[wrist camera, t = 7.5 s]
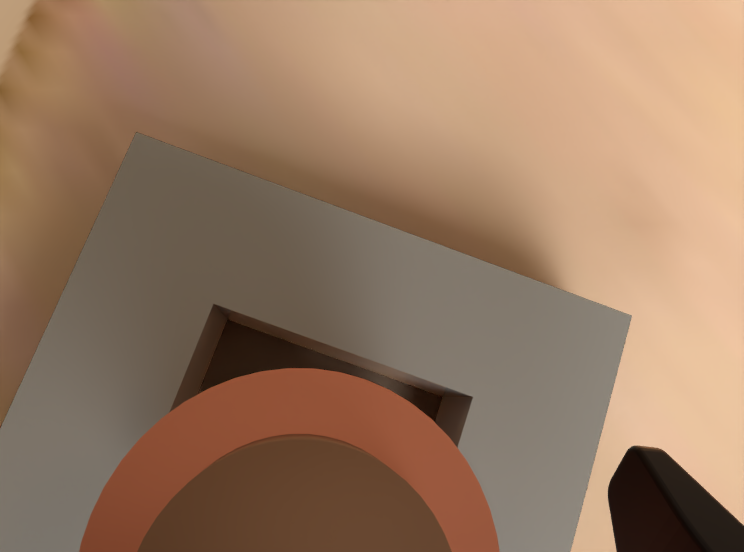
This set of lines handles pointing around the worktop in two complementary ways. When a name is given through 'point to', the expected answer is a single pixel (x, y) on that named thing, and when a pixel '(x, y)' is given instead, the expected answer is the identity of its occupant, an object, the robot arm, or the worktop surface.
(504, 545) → the socket board
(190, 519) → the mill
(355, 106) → the worktop surface
